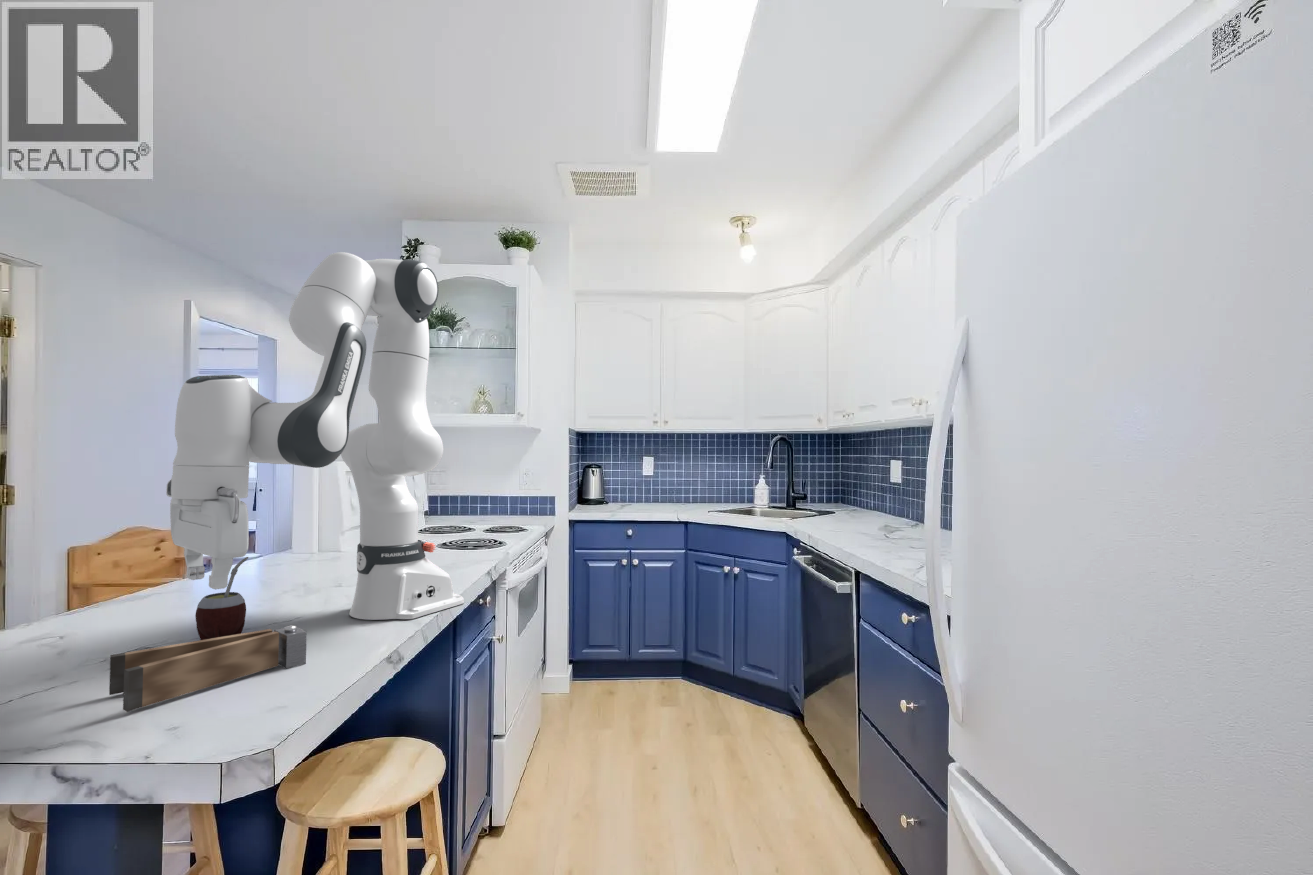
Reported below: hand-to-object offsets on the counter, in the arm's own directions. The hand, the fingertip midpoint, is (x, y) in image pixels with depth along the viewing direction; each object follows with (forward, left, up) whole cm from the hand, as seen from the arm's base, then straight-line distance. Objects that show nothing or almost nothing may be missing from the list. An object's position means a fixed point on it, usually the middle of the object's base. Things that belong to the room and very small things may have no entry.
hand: (206, 583), depth 86 cm
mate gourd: (-8, -20, -15) cm, 26 cm away
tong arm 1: (0, -3, -14) cm, 14 cm away
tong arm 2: (0, +2, -14) cm, 14 cm away
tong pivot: (-11, 0, -14) cm, 18 cm away
